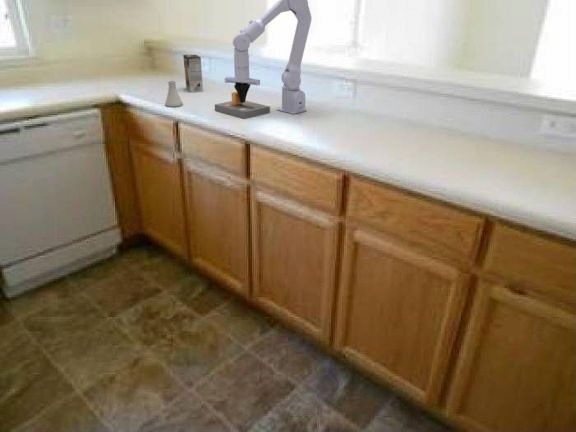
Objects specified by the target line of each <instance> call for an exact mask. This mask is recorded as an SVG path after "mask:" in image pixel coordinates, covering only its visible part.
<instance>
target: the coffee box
mask: <svg viewBox="0 0 576 432" xmlns="http://www.w3.org/2000/svg"><path fill="white" fill-rule="evenodd" d="M182 56H183V67H184V78H185V79H184V80H185V88H186V90H187V91H189V93H199V92H201V93H202V92H203V91H204V88H203V85H204V84H203V73H202V71H203V69H202V57H201V56H199V55H197V54H183V55H182Z"/></svg>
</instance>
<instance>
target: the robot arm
mask: <svg viewBox="0 0 576 432" xmlns="http://www.w3.org/2000/svg"><path fill="white" fill-rule="evenodd" d="M285 12H291V13H293V15H294V16H295V18H296V20H297V23H296V28H295V31H294V36H293V39H292V44H291V45H292V46H291V49H290V50H291V51H290V54H289V59H288V62H287V64H286V67H285V70H284V71H283V72H282V74H281V82H282V83H283V85H282V86H281V107H280V108H279V107H278V108H276V109H277V111H280V112H283V113H289V114H292V115H295V114H298V113H302V112H306V111H307V109H306V93H305V91H303V90H301V88H300V86H301V83H302V79H301V73H302V68H301V65H302V61H303V57H304V52H305V49H306V43H307V40H308V35H309V32H310V28H311V23H312V13H311V10H310V6H309V1H308V0H277V1H276V2H275V4H273V5H272V6H271V7H270V8H269V9H268V10H267V11H266V12H265V13H264V14H263V15H262V16H260V18H254V19H253V20H252V19H250V20H249V21H248V24H247V26H245V27H244V28H243V29H240V30H239V33H238V34H236V35H235V36H234V37H233V40H232V45H233V47H234V49H233V53H234V54H233V60H234V64H233V66H234V67H233V68H234V77H233V76H226V77H224V83H225V84H228V83H229V84H234V85H233V87H234V89H235V92H237V93H238V95H239V99H240V103H244V102H245V101H247V100H246V99H247V95H248V92H249V89H250V87H251V86H252V85H253V86H260V85H261V79H257V78H252V77H251V78H250V55H249V49H250V45H251V44H252V43H253V42H255V41H256V40H257V39H258V38H259V37H260V36H261V35H262V34H263V33H265V29H266V26H267V25H268V24H269V23H271V22H272V21H273V20H274V19H275V18H277V17H278V16H279V15H280V14H282V13H285Z"/></svg>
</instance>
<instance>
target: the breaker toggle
mask: <svg viewBox="0 0 576 432" xmlns="http://www.w3.org/2000/svg"><path fill="white" fill-rule="evenodd" d="M231 101H232V104H234V105H238V104H243V103H240V99H239V95H238V93H237V91H234V92H231Z"/></svg>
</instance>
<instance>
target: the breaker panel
mask: <svg viewBox="0 0 576 432" xmlns="http://www.w3.org/2000/svg"><path fill="white" fill-rule="evenodd" d="M214 111H216V112H218V113H222V114H225V115H230V116H232V117H236V118H239V119H243V120H245V119H249V118H253V117H258V116H262V115H266V114H269V113H271V106H270V105H265V104H261V103H258V102H253V101H250V100H245V102H244V103H243V104H238V105H234V104H232V100H231V101H226V102H220V103H215V104H214Z"/></svg>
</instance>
